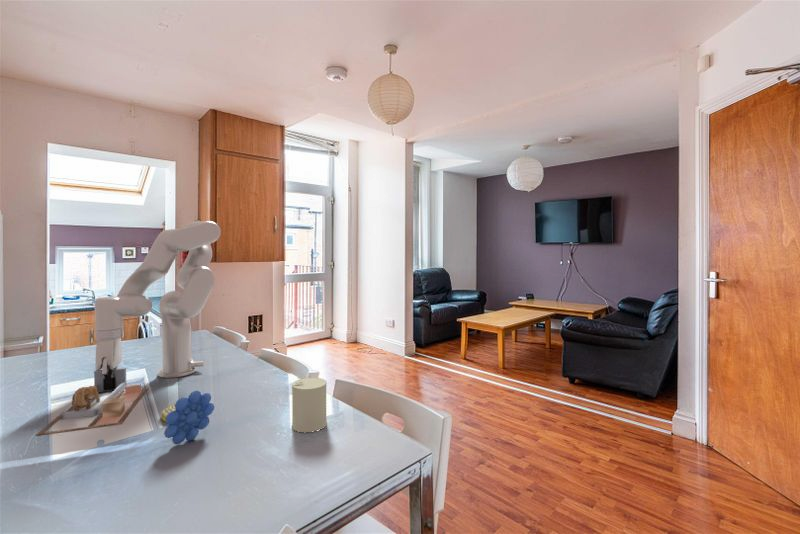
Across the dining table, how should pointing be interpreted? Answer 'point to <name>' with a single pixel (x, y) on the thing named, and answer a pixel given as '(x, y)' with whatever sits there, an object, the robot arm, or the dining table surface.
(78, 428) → the lane rails
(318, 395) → the can
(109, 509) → the dining table surface
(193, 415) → the grapes
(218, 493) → the dining table surface
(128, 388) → the broken strip
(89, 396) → the lion figurine
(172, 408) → the decorated donut
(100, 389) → the grey long open box
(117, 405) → the cube
